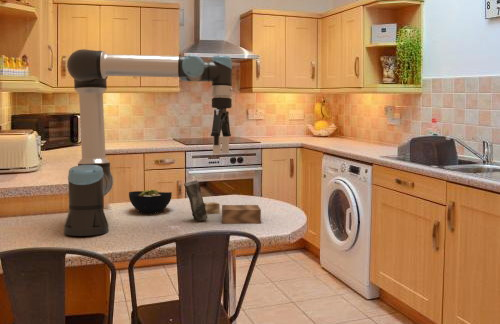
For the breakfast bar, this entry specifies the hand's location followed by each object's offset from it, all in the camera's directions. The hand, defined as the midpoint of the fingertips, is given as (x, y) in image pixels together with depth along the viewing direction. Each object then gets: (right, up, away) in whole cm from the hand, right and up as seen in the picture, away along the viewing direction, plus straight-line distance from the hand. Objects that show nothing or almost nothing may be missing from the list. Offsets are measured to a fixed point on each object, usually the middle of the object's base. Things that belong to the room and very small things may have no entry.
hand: (221, 153), depth 206 cm
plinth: (+7, -25, 0) cm, 26 cm away
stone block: (-10, -26, -1) cm, 27 cm away
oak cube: (-4, -25, +13) cm, 28 cm away
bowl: (-30, -25, +15) cm, 41 cm away
